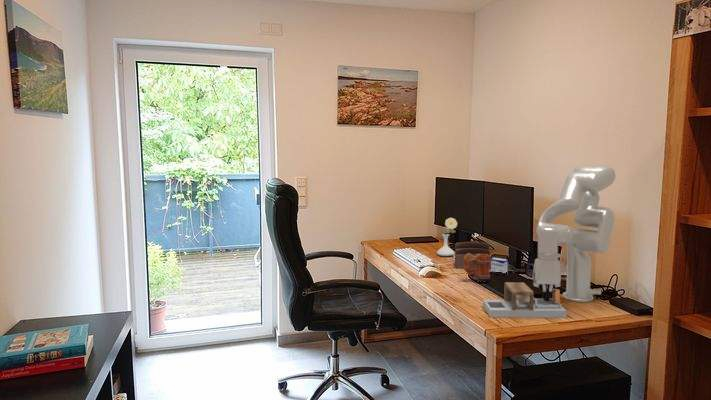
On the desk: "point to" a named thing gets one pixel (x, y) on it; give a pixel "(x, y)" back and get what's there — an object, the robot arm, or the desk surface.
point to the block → (523, 299)
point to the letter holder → (471, 248)
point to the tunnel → (517, 293)
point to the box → (499, 265)
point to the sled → (555, 301)
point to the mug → (477, 265)
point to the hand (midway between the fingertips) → (546, 300)
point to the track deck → (521, 310)
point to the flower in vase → (445, 249)
